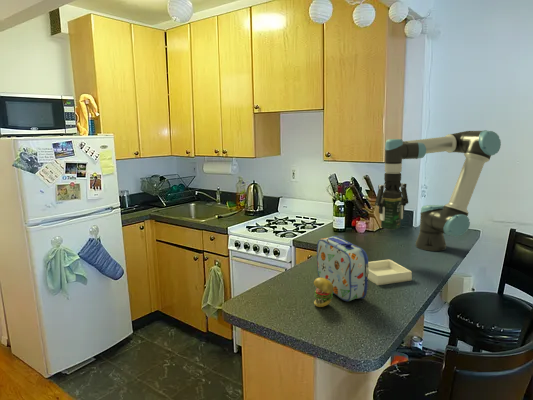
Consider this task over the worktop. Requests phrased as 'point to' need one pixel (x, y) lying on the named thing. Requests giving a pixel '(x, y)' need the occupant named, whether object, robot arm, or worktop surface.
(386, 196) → the coffee jar
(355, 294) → the lunch box
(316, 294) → the hamburger
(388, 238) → the worktop surface
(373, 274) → the caddy
